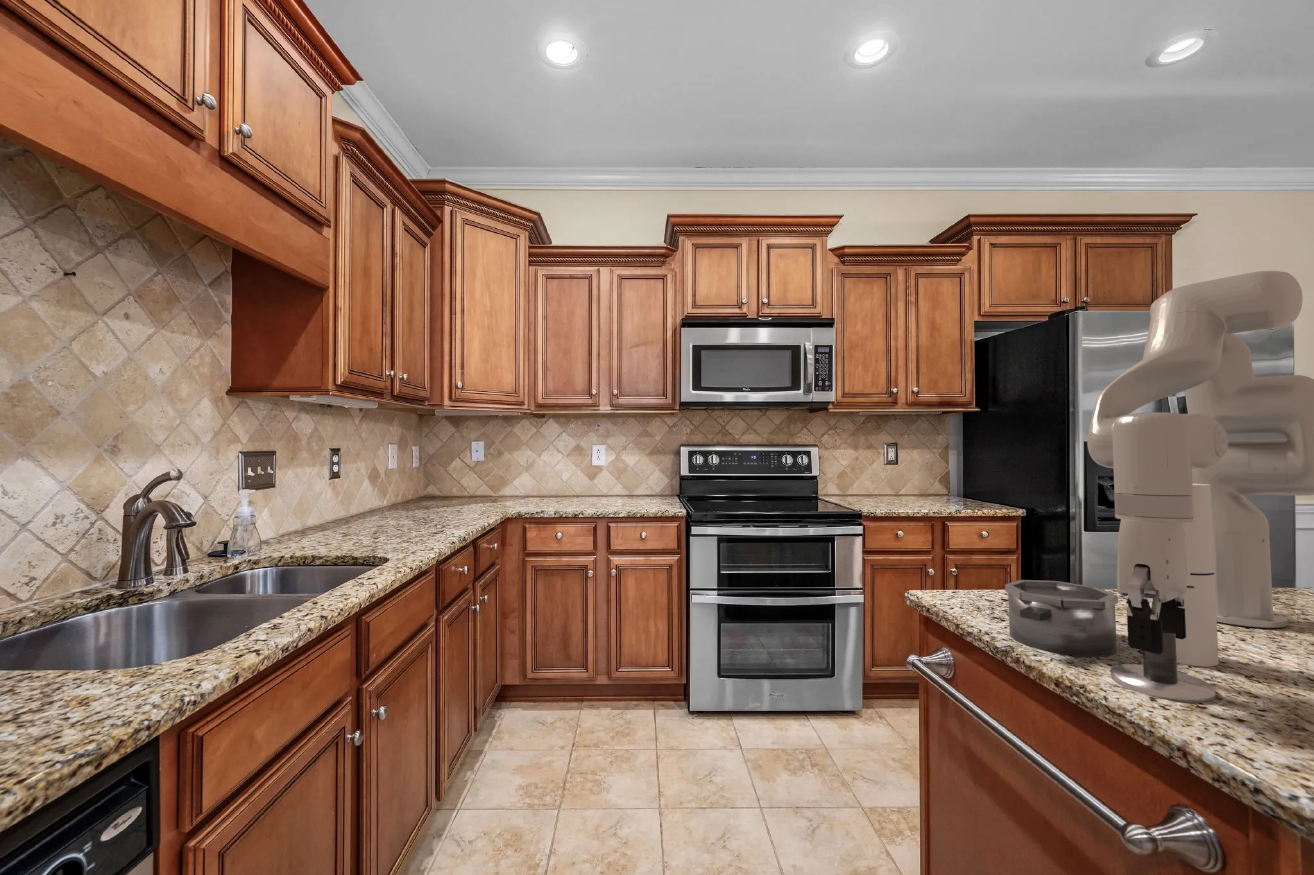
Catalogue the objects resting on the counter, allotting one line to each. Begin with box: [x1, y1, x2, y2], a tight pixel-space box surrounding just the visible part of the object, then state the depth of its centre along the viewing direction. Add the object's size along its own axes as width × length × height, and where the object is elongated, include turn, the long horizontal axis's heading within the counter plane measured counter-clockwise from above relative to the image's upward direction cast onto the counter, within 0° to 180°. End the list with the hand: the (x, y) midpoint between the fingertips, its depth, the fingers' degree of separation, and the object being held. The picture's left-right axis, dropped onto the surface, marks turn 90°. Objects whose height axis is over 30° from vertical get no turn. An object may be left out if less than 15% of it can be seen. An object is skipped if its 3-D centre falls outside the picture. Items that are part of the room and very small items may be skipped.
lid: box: [1110, 629, 1217, 704], centre depth 70 cm, size 10×10×7 cm
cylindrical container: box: [1149, 484, 1220, 668], centre depth 79 cm, size 7×7×25 cm
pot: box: [1004, 579, 1119, 658], centre depth 86 cm, size 21×14×8 cm, turn 124°
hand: (1157, 643), depth 69 cm, fingers open, 9 cm apart
